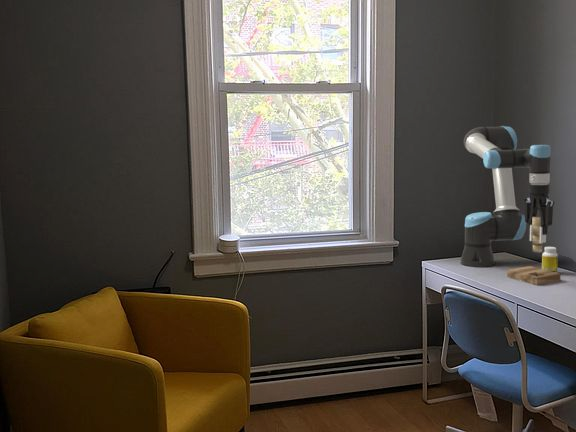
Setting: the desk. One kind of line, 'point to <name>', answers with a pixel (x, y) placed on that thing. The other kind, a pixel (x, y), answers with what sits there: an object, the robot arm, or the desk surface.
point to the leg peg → (536, 234)
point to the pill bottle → (550, 259)
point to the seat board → (533, 275)
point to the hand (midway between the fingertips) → (537, 241)
